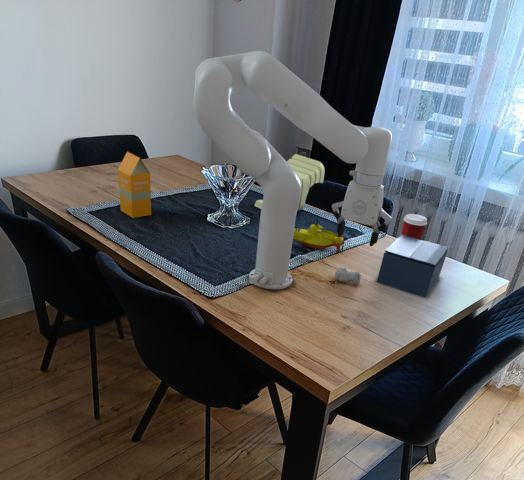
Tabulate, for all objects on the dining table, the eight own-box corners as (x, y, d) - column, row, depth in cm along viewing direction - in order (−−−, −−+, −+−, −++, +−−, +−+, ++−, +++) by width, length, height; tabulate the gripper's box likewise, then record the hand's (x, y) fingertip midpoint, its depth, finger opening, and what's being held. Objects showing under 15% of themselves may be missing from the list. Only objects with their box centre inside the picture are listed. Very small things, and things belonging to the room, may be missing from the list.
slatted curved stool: (268, 222, 183) (273, 173, 173) (238, 209, 191) (242, 161, 181) (318, 208, 202) (326, 163, 192) (289, 197, 210) (295, 153, 200)
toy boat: (341, 255, 163) (347, 226, 158) (288, 246, 166) (292, 217, 160) (343, 248, 169) (349, 220, 163) (291, 239, 171) (295, 211, 165)
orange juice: (132, 218, 173) (129, 158, 162) (120, 210, 178) (116, 152, 167) (151, 214, 177) (150, 156, 166) (139, 207, 183) (137, 150, 171)
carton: (425, 297, 144) (435, 265, 138) (376, 282, 149) (384, 250, 144) (438, 277, 157) (448, 247, 151) (393, 264, 162) (401, 234, 156)
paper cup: (420, 258, 168) (432, 218, 160) (409, 264, 163) (421, 223, 155) (400, 250, 172) (411, 211, 164) (389, 256, 167) (399, 215, 160)
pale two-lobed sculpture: (330, 282, 149) (341, 273, 151) (352, 291, 144) (363, 282, 147) (330, 270, 146) (341, 261, 148) (352, 280, 141) (363, 270, 144)
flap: (409, 259, 141) (409, 257, 141) (384, 251, 144) (385, 250, 144) (423, 242, 154) (424, 240, 154) (401, 235, 156) (401, 234, 156)
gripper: (332, 174, 131) (322, 236, 140) (395, 189, 124) (380, 252, 134) (343, 169, 136) (333, 229, 146) (404, 183, 130) (389, 244, 139)
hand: (355, 240), depth 140 cm, fingers open, 9 cm apart
